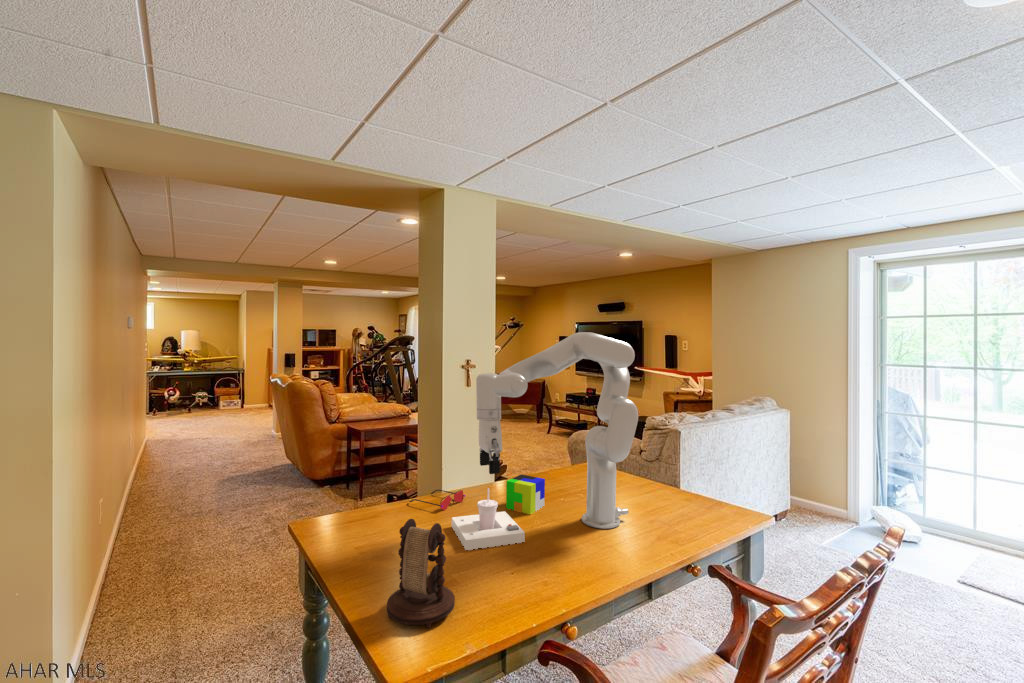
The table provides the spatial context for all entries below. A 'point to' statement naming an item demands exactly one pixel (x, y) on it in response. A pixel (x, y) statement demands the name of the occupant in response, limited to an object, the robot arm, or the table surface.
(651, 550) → the table surface
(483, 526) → the smoothie
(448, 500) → the glasses
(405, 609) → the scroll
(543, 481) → the puzzle toy
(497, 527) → the socket plate
